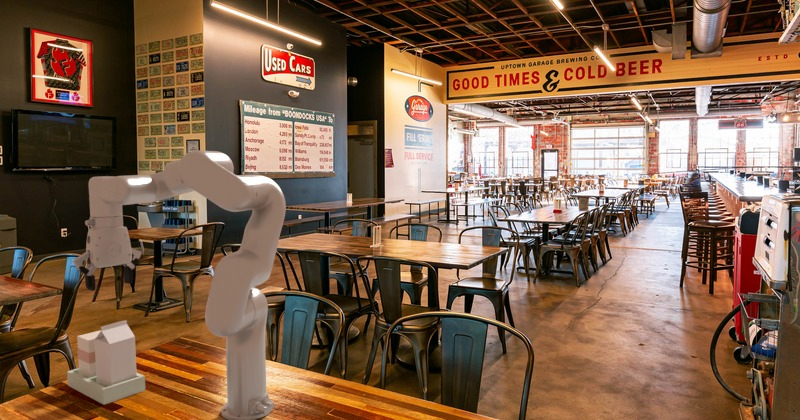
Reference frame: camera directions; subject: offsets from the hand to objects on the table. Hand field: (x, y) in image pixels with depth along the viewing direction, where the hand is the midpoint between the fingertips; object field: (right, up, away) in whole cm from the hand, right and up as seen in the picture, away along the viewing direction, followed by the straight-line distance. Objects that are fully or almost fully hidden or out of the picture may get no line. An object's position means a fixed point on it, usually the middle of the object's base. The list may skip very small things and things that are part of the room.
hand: (110, 286), depth 143 cm
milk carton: (0, -29, +3) cm, 29 cm away
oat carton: (-8, -29, +8) cm, 31 cm away
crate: (-4, -30, +5) cm, 30 cm away
